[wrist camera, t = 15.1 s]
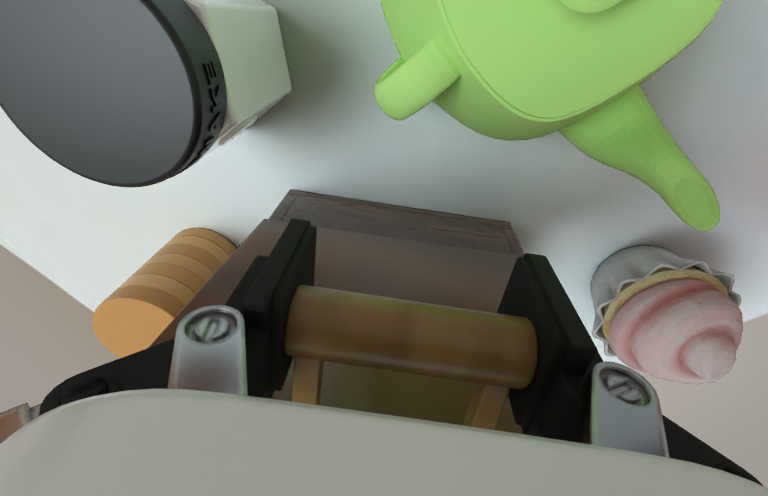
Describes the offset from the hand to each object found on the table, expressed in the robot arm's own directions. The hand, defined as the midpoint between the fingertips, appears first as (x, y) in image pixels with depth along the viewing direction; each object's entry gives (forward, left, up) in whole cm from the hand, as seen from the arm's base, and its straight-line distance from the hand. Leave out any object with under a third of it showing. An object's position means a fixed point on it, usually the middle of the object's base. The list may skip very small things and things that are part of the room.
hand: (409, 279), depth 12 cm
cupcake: (+5, +20, -17) cm, 27 cm away
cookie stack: (+15, -13, -17) cm, 26 cm away
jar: (-1, -13, -17) cm, 21 cm away
